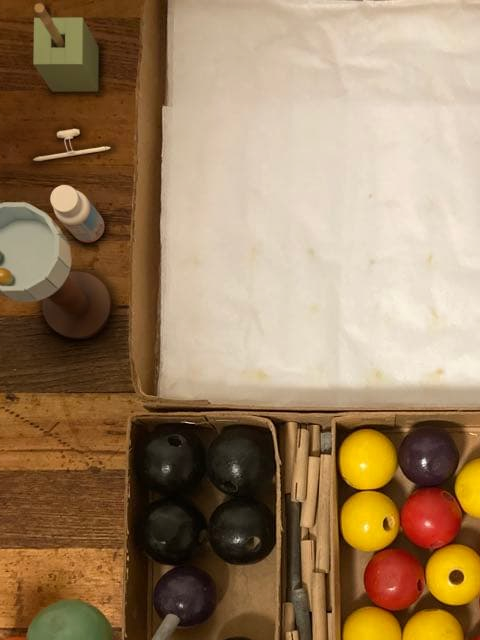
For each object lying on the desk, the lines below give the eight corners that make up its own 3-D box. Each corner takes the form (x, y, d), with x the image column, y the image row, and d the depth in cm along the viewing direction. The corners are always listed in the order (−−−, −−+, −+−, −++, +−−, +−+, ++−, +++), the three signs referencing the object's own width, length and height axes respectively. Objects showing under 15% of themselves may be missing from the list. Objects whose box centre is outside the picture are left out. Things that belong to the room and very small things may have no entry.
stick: (71, 73, 153) (34, 12, 137) (71, 64, 153) (34, 3, 137) (80, 73, 153) (43, 12, 137) (80, 64, 153) (44, 3, 137)
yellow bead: (-6, 286, 126) (-4, 268, 125) (-9, 281, 128) (-7, 264, 127) (13, 289, 127) (15, 271, 126) (10, 284, 129) (11, 267, 128)
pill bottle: (92, 204, 151) (68, 173, 140) (112, 231, 151) (89, 201, 140) (64, 223, 151) (38, 193, 140) (84, 250, 151) (59, 222, 140)
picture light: (34, 162, 152) (29, 156, 150) (31, 139, 152) (25, 133, 150) (111, 150, 152) (107, 144, 150) (107, 127, 152) (104, 121, 150)
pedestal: (44, 339, 150) (-13, 298, 129) (45, 273, 150) (-11, 221, 129) (112, 338, 150) (66, 297, 129) (112, 273, 151) (67, 221, 130)
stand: (51, 91, 153) (33, 64, 145) (52, 47, 153) (33, 17, 145) (98, 91, 153) (82, 64, 145) (98, 47, 153) (82, 17, 145)
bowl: (-17, 302, 129) (-34, 290, 124) (-16, 217, 130) (-32, 202, 125) (71, 301, 129) (58, 290, 124) (72, 216, 130) (59, 201, 125)
